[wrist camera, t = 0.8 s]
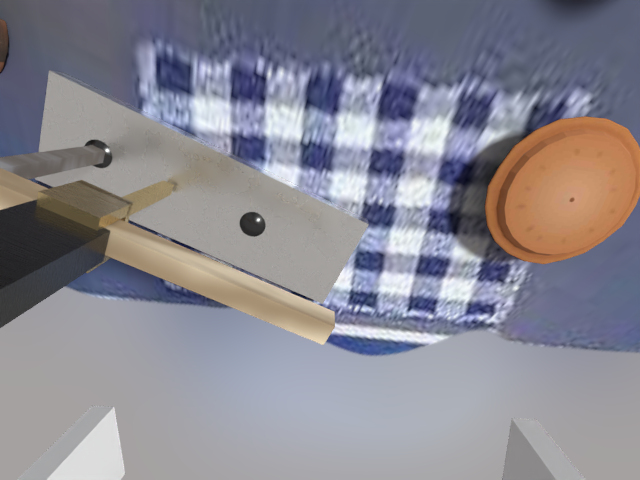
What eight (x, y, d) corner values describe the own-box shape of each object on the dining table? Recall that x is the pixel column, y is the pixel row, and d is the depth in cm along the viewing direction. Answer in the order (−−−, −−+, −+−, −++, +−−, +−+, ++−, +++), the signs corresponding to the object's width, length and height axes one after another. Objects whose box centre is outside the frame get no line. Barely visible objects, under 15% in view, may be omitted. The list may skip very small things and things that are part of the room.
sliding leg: (150, 158, 33) (-161, 235, 12) (195, 178, 34) (-27, 286, 13) (140, 195, 35) (-150, 322, 14) (183, 215, 36) (-32, 363, 15)
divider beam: (62, 128, 33) (-112, 137, 20) (333, 252, 37) (334, 326, 24) (59, 145, 34) (-111, 166, 21) (326, 266, 38) (323, 345, 25)
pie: (444, 183, 36) (461, 193, 31) (575, 82, 32) (617, 76, 27) (513, 273, 40) (536, 294, 35) (637, 194, 36) (682, 206, 31)
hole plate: (65, 72, 33) (48, 70, 31) (366, 218, 38) (368, 224, 36) (49, 175, 37) (34, 179, 35) (323, 295, 42) (322, 303, 40)
